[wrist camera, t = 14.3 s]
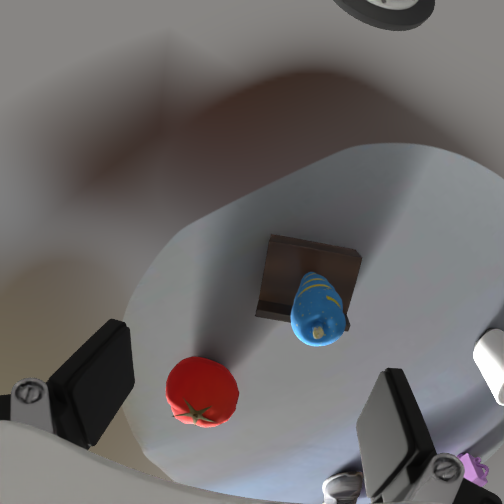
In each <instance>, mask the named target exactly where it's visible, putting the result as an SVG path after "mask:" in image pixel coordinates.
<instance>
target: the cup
mask: <svg viewBox="0 0 504 504" xmlns="http://www.w3.org/2000/svg"><path fill="white" fill-rule="evenodd" d="M473 355H474V360H475V362H476V363H477V365H478V367H479V369H480V371H481V372H482V374H483V376H484V378H485V380H486V381H487V383H488V385H489V387H490V389H491V391H492V393H493V395H494V397H495V399H496V401H497V403H498V404H500V405H503V406H504V332H503V331H502V330H500V329H488V330H487V331H486V333H485V334H484V335H483V336H482V338H480V339H479V340H478V341H476V343H475V348H474V354H473Z"/></svg>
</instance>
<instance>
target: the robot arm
mask: <svg viewBox="0 0 504 504" xmlns="http://www.w3.org/2000/svg"><path fill="white" fill-rule="evenodd" d="M367 1H368V2H370V3H372V4H375V5H377V6H380V7H383V8H387V9H393V10H402V9H407V8H410V7H412V6H413V5H415V4H416V2H417V1H418V0H367ZM134 383H135V378H134V369H133V360H132V350H131V338H130V329H129V327H127V326H126V323H125V322H122V321H118V320H115V319H110V320H108V321H107V322H106V323H105V324H104V325H103V326H102V327H101V328H100V329H99V330H98V331H97V332H96V333H95V334H94V335H93V336H92V337H90V338H89V339H88V341H86V342H85V343H84V344H83V345H82V346H81V347H80V348H79V349H78V350H77V351H76V352H75V353H74V354H73V355H72V356H71V357H70V358H69V359H68V360H67V361H66V362H65V363H64V364H63V365H62V366H61V367H60V368H59V369H58V370H57V371H56V372H55V373H54V374H53V375H52V376H51V377H50V378H49V380H48V381H47V382H46V383H45V382H43V381H42V380H40V379H37V378H25V379H22V380H20V381H18V382H17V383H16V384H15V385H14V386H13V388H12V391H11V394H9V395H0V504H301V503H287V502H276V501H267V500H259V499H252V498H245V497H239V496H233V495H228V494H222V493H217V492H213V491H208V490H204V489H199V488H195V487H191V486H187V485H183V484H180V483H176V482H173V481H169V480H166V479H162V478H159V477H156V476H153V475H150V474H147V473H144V472H141V471H138V470H135V469H133V468H130V467H127V466H124V465H122V464H119V463H117V462H114V461H112V460H109V459H107V458H104V457H102V456H100V455H97V454H95V453H93V452H90V451H88V449H89V448H90V446H95V445H96V444H97V442H98V441H99V439H100V437H101V436H102V434H103V433H104V431H105V430H106V428H107V427H108V425H109V424H110V422H111V421H112V419H113V418H114V416H115V414H116V413H117V411H118V410H119V408H120V407H121V405H122V404H123V402H124V401H125V399H126V398H127V396H128V395H129V393H130V392H131V390H132V389H133V387H134ZM356 430H357V436H358V441H359V448H360V454H361V460H362V467H363V474H364V481H365V488H366V495H367V497H368V498H371V504H502V501H501V499H500V498H499V497H498V496H497V495H495V494H494V493H492V492H490V491H488V490H486V489H484V488H482V487H480V486H478V485H477V484H475V483H473V482H471V481H469V480H467V479H465V478H464V473H465V469H464V465H463V463H462V462H461V460H460V459H459V458H458V457H456V456H455V455H452V454H449V453H440V454H437V453H436V450H435V447H434V445H433V442H432V439H431V437H430V434H429V431H428V429H427V426H426V424H425V421H424V419H423V416H422V414H421V411H420V409H419V406H418V404H417V402H416V400H415V397H414V395H413V392H412V390H411V388H410V386H409V383H408V381H407V379H406V376H405V374H404V372H403V370H402V369H398V368H387V369H386V370H385V371H382V372H381V373H380V375H379V377H378V379H377V381H376V383H375V386H374V388H373V390H372V392H371V394H370V396H369V398H368V400H367V402H366V404H365V406H364V408H363V410H362V412H361V414H360V416H359V418H358V420H357V424H356Z"/></svg>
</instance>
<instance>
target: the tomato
mask: <svg viewBox="0 0 504 504" xmlns="http://www.w3.org/2000/svg"><path fill="white" fill-rule="evenodd" d="M238 397H239V391H238V387H237V383H236V381H235V379H234V377H233V376H232V374H231V373H230V371H229V370H228V369H227V368H225V367H224V366H223V365H221V364H219V363H217V362H215V361H212V360H209V359H206V358H202V357H190V358H186V359H183V360H182V361H180V362H179V363H178V364H177V365H176V366H175V367H174V368H173V369H172V371H171V372H170V374H169V376H168V379H167V382H166V398H167V401H168V403H169V404H170V405H171V409H172V411H173V413H174V416H173V417H176V418H177V419H179V420H180V421H182V422H184V423H194V424H195V425H196V424H197V425H199V426H201V427H214V426H217V425H219V424H222V423H224V422H226V421H228V419H229V418H230V417H231V416H232V414H233V413H234V412H235V410H236V404H237V401H238Z"/></svg>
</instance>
